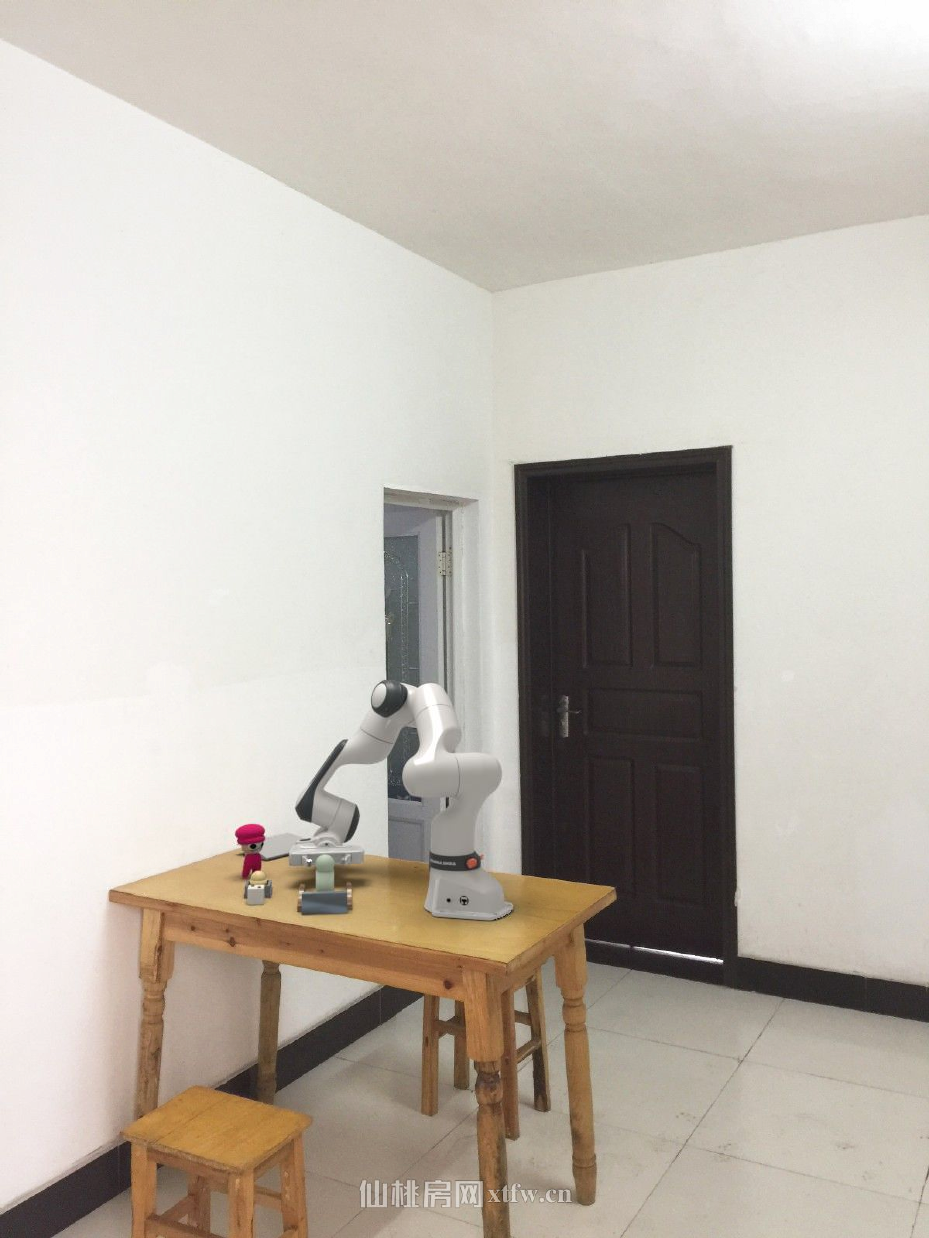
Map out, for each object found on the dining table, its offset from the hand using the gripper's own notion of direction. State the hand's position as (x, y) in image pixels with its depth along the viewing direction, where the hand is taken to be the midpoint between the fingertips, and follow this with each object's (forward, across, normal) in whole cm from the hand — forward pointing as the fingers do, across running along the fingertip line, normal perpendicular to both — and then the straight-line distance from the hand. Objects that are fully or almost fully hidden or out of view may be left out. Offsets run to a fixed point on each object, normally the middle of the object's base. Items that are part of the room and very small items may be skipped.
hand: (326, 862), depth 279 cm
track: (+7, 0, -8) cm, 11 cm away
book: (-49, +16, -9) cm, 52 cm away
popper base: (0, +18, -8) cm, 20 cm away
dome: (0, +18, -6) cm, 19 cm away
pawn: (+12, 0, -8) cm, 14 cm away
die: (+7, +18, -8) cm, 21 cm away
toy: (-18, +21, -8) cm, 29 cm away
